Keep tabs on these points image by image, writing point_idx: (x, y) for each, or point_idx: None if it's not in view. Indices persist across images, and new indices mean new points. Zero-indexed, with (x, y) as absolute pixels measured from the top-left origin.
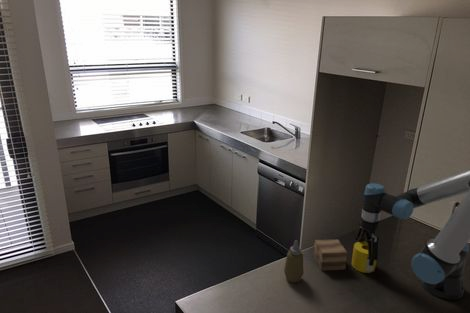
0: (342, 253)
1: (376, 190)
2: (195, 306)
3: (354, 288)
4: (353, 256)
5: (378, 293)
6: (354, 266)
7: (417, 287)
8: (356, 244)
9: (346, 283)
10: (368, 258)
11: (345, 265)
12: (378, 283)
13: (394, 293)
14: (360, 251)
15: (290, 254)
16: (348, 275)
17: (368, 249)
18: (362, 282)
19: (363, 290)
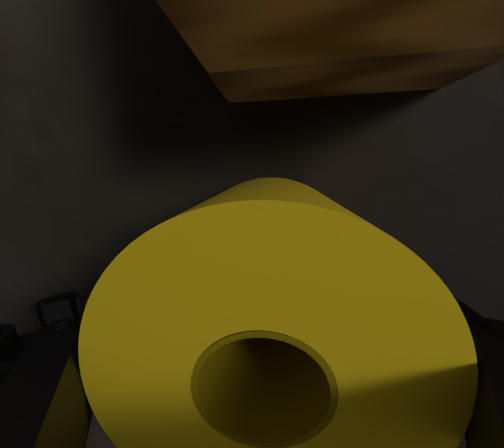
0: None
1: None
2: None
3: (16, 95)
4: (270, 183)
5: (4, 230)
6: (241, 183)
7: (91, 429)
8: (385, 283)
9: (59, 51)
10: (39, 302)
11: (220, 89)
12: (94, 271)
13: (24, 312)
14: (127, 255)
15: None
16: (155, 103)
17: (18, 423)
18: (88, 177)
19: (10, 151)
